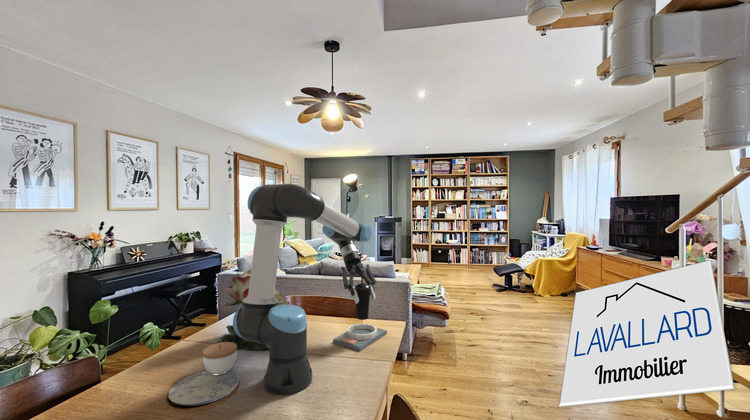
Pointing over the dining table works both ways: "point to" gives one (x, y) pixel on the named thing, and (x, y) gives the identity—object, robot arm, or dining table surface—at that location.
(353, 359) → the dining table surface
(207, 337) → the dining table surface
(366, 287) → the drinking cup
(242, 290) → the rose bouquet
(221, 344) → the lidded jar
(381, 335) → the ring board
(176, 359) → the dining table surface
